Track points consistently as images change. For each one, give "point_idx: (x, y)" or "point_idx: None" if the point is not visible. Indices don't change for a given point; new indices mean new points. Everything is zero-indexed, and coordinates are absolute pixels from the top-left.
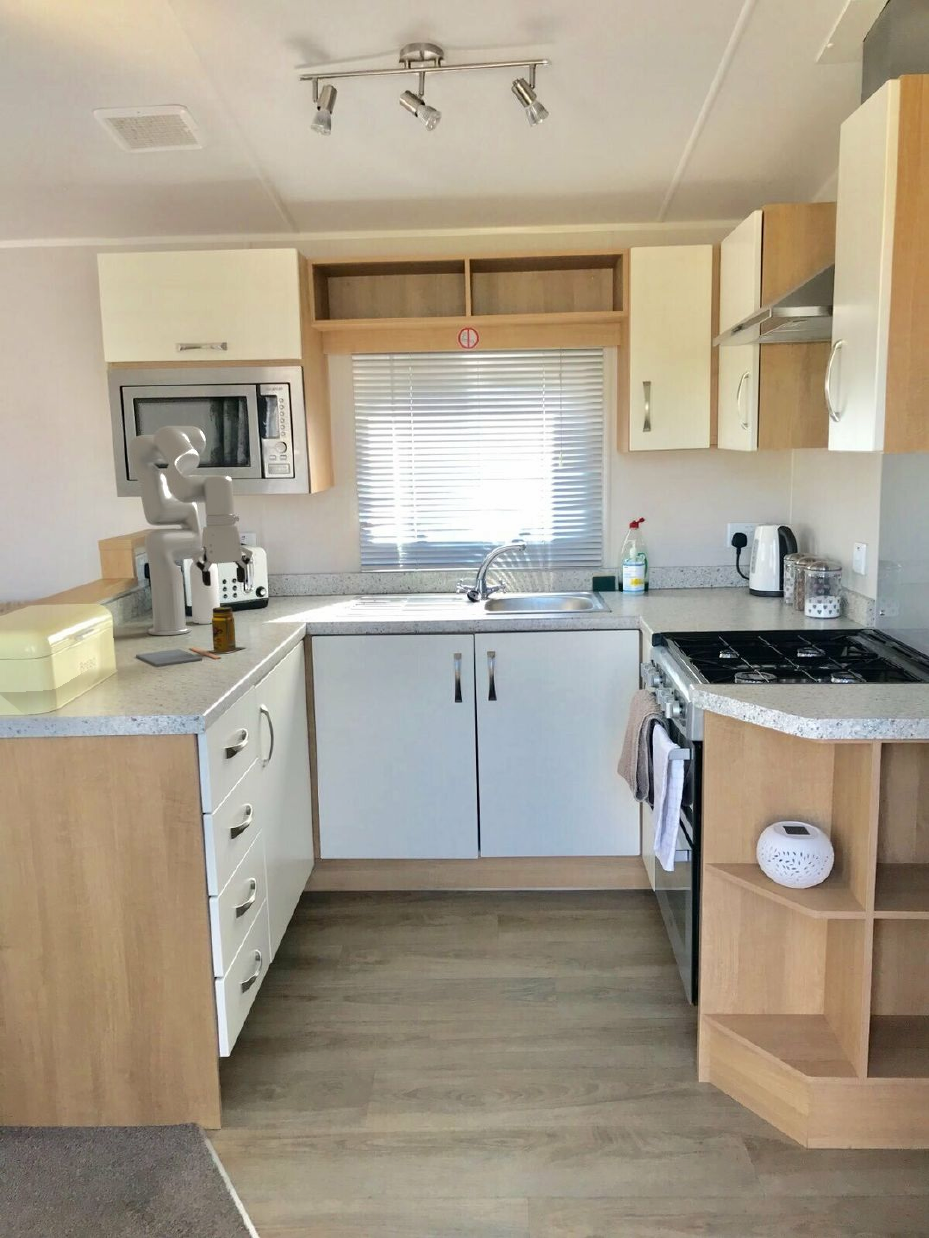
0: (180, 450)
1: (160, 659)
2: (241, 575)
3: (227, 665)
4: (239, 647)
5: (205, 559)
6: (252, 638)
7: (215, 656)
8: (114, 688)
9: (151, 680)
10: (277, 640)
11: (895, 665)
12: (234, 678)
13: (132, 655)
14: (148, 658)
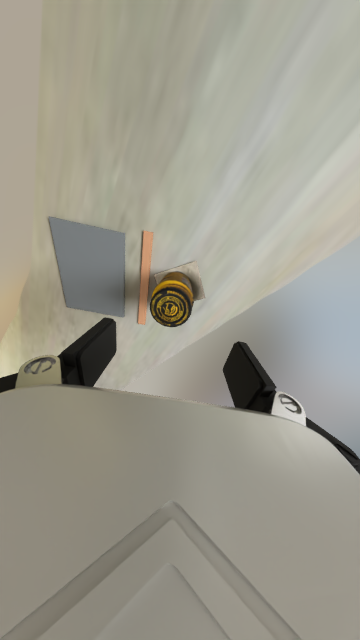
0: None
1: (76, 284)
2: (230, 390)
3: (134, 353)
4: (199, 288)
5: (10, 405)
6: (269, 234)
7: (141, 318)
8: (17, 353)
9: (52, 351)
10: (270, 285)
11: None
12: (116, 388)
13: (47, 195)
14: (62, 264)
